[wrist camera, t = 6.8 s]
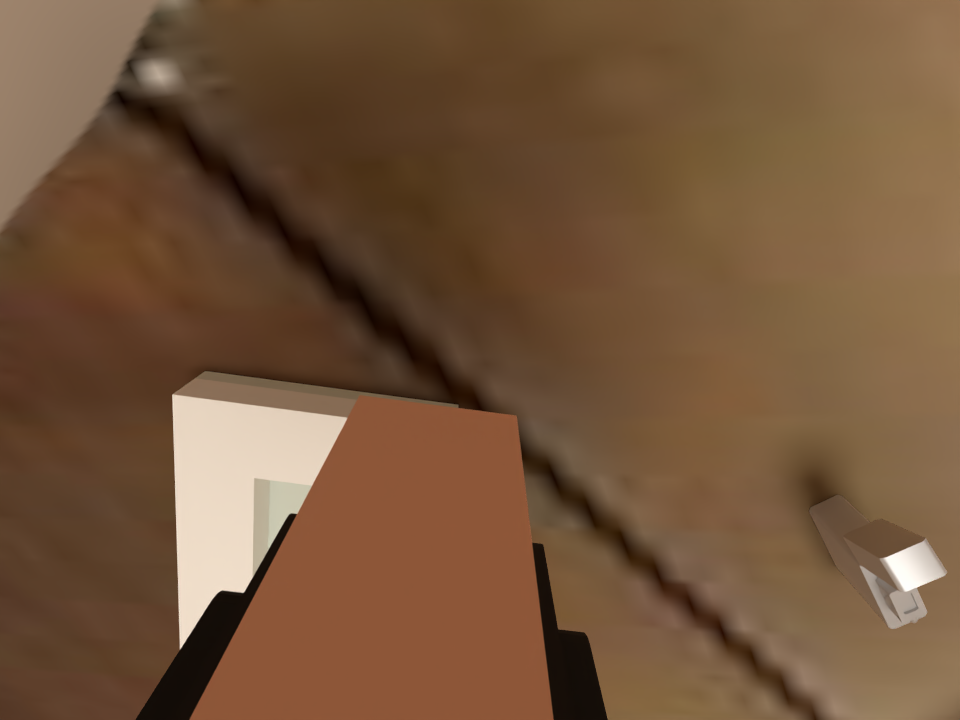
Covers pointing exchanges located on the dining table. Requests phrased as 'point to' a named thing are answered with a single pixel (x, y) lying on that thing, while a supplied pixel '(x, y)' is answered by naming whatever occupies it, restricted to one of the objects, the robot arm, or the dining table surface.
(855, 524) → the white plastic device
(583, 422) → the dining table surface
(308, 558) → the block
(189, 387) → the holder
